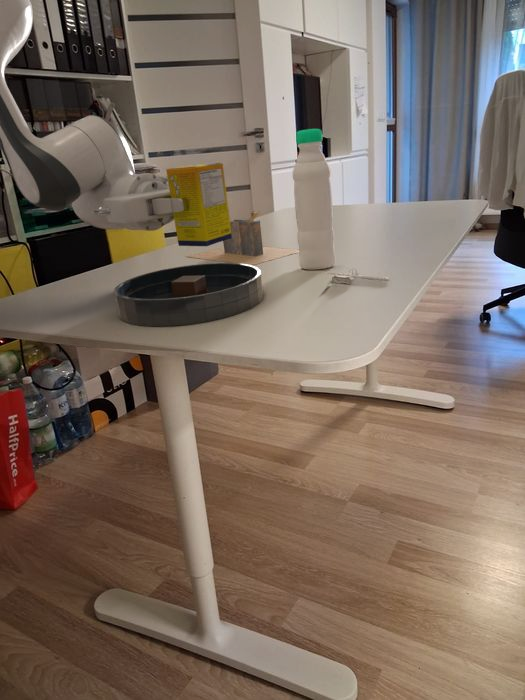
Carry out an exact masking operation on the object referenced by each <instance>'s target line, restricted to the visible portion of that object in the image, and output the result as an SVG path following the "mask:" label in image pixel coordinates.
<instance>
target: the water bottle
mask: <svg viewBox="0 0 525 700" xmlns="http://www.w3.org/2000/svg"><path fill="white" fill-rule="evenodd" d="M322 131H323V130H322V129H320V128H307V129H301V130H298V131H297V132H296V133H295V141H296V142H295V143H296V145H297V148H298V149H299V154H298V155H297V156H296V159H295V164H294V167H293V169H292V179H293V181H294V183H293V185H294V186H293V188H294V189H293V194H294V197H293V198H294V210H295V220H296V226H297V245H298V250H299V252H298V264H299V266H300V268H301V269H303V270H309V271H317V270H319V271H320V270H325V269H330V268H331V267H333V266H334V265H335V264H336V251H335V245H334V244H335V233H334V229H333V223H334V217H333V216H334V215H333V213H334V212H333V194H332V185H331V184H332V183H331V178H330V177H331V174H332V171H331V167H330V164H329V163H328V161H327V160H326V157H325V154H324V153H323V152H322V149H321V146H322V144H323V132H322Z"/></svg>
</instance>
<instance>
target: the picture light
mask: <svg viewBox="0 0 525 700" xmlns="http://www.w3.org/2000/svg"><path fill="white" fill-rule="evenodd" d="M348 269H350V270H349V271H348V273H346V272H347V270H348ZM353 270H355V271H353ZM350 272H351V273H350ZM323 273H325V274H333V276H332V277H331V280H332V281H333V282H334V283H342V284H347V285H350V284H351V283H353V282H354V280H355V279H359V280H360V279H361V280H369V281H370V280H371V281H379V282H390V281H391V278H389V277H386V276H376V275H367V274H366V275H364V274H360V273H359V272H358V270H357V269H356V268H354V267H352V268H351V267H347V268H346V269H345V270H344V272H333V271H324V272H323ZM334 274H335V275H334Z"/></svg>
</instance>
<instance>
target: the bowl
mask: <svg viewBox="0 0 525 700" xmlns="http://www.w3.org/2000/svg"><path fill="white" fill-rule="evenodd" d="M182 276H205V280H206V287H207V294H202V295H195V296H188V297H180V298H174V296H173V290H172V284H171V282H172V281H174V280H176V279H178V278H180V277H182ZM263 285H264V284H263V277H262V270H261V269H259V267H258V266H255V265H247V264H238V263H229V262H213V263H212V262H211V263H209V262H208V263H198V264H190V265H189V264H188V265H182V266H174V267H170V268H164V269H159V270H155V271H152V272H148V273H144V274H141V275H137V276H135V277H132V278H128V279H126V280H124V281H123V282H121V283H119V284H118V285H117V286H115V287H114V289H113V295H114V300H115V306H116V311H117V315H118V317H119V318H120V319H121V321H123V322H125V323H127V324H131V325H136V326H141V327H143V326H144V327H177V326H188V325H196V324H201V323H207V322H213V321H216V320H221V319H224V318H228V317H231V316H234V315H239V314H241V313H243V312H245V311H247V310H251V309H252V308H254V307H255V306H257V305H259V304H260V302H262V300H263V299H264V286H263Z"/></svg>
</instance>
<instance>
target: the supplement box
mask: <svg viewBox="0 0 525 700" xmlns="http://www.w3.org/2000/svg"><path fill="white" fill-rule="evenodd" d="M165 172H166V176H167V177H168V183H169V189H170V196H171V198H187V200H188V206H189V209H188V210H187V211H182V212H173V214H174V220H173V221H174V225H175V232H176V239H177V243H178V246H179V247H209V246H212V245H215V244H218V243H221V242H223V241H224V240H227V239H231V238H232V234H231V226H230V221H231V218H230V211H229V204H228V203H229V202H228V195H227V187H226V186H227V185H226V180H225V171H224V163H223V162H211V163H202V164H201V163H199V164H192V165H186V166H178V167H171V168H166V170H165Z"/></svg>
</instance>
